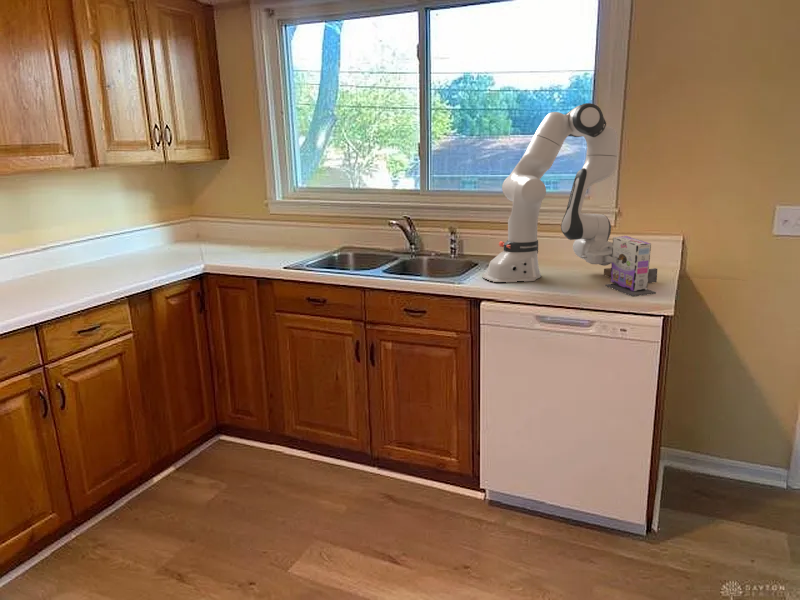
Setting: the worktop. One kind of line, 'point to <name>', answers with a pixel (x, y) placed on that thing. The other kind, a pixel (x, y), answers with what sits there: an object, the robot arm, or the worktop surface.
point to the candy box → (630, 263)
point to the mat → (627, 291)
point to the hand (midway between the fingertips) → (626, 259)
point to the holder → (651, 276)
